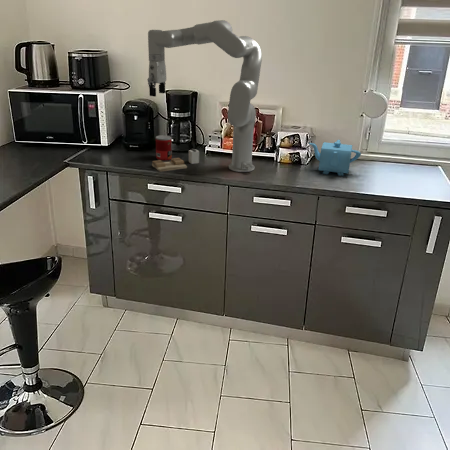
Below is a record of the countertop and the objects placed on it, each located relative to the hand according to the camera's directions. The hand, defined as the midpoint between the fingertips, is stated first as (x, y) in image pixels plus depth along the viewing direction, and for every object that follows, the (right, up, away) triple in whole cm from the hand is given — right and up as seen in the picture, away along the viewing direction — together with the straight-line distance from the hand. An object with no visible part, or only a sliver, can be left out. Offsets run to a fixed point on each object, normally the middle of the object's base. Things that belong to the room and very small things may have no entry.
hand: (157, 94), depth 237 cm
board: (+6, -36, -2) cm, 36 cm away
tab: (+17, -32, +6) cm, 37 cm away
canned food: (+2, -30, +10) cm, 32 cm away
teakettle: (+85, -38, -1) cm, 93 cm away
